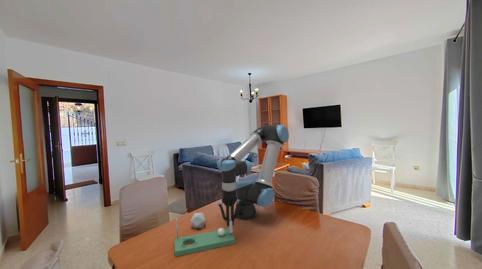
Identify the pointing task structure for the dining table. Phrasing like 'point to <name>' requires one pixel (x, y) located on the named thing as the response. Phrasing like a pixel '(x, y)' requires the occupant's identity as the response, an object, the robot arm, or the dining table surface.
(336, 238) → the dining table surface
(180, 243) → the mini golf green
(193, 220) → the die
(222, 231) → the ball
